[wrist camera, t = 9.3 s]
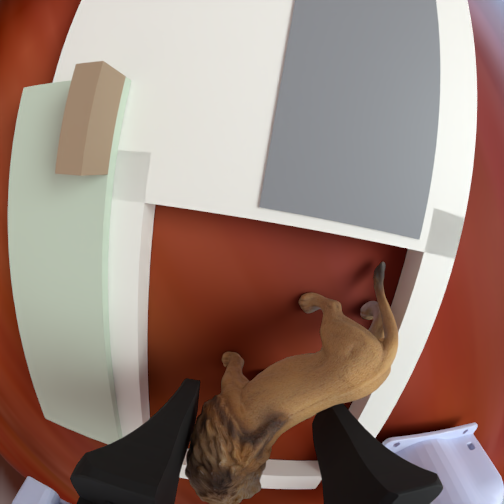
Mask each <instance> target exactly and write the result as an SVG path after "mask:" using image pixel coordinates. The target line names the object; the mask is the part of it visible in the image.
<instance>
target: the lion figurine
mask: <svg viewBox="0 0 504 504" xmlns="http://www.w3.org/2000/svg"><path fill="white" fill-rule="evenodd" d="M384 271H385V263H384V262H381V263H380V264H379V266H377V267H376V269H375V271H374V277H373V278H374V289H375V293H376V298H377V301H378V302H377V301H369V302H367V303H365V304H364V305H363V306H362V307H361V313H360V314H361V317H362V318H363V319H367V320H371V319H373V321H372V324H371V326H370V328H369V329H368V330H367V329H366V328H364V327H363V326H362V325H360V324H358V323H356V322H355V321H353V320H351V319H350V318H348V317H346V316H345V315H344V314H343V313H342V307H341V304H340V302H339V301H336V300H332V299H328V298H326V297H323V296H322V295H320V294H317V293H306V294H303V295H302V296H301V297H300V299H299V305H300V307H301V309H302V310H303V311H304V312H305V313H312V312H314V311H316V310H318V309H320V310H322V311H323V318H322V324H321V327H320V336H321V340H322V348H321V350H320V351H318V352H316V353H310V354H302V355H297V356H291V357H287V358H285V359H283V360H281V361H278V362H276V363H274V364H273V365H271V366H269V367H268V368H266V369H265V370H264V371H262V372H261V373H259V374H258V375H257V376H256V377H255V378H254V379H252V380H251V381H249V380H248V379H247V378H246V377H245V376H244V375H243V373H242V368H243V365H244V360H243V359H242V358H241V356H240V355H239V354H238V353H235V352H225V353H224V354H223V356H222V362H223V365H224V366H225V367H227V369H226V371H225V373H224V375H223V377H222V381H221V393H220V394H219V395H215V396H214V397H213V398H212V399H210V400H208V401H207V402H205V403H204V405H203V407H202V413H201V414H200V415H199V416H198V417H197V420H196V424H195V425H194V430H193V433H192V434H191V438H190V448H189V450H188V451H187V455H186V461H187V466H186V468H185V475H186V477H187V478H188V479H189V482H190V484H191V486H192V487H193V488H194V489H195V492H196V494H197V495H198V496H199V497H200V499H201V500H202V501H206V502H208V503H210V504H237V503H240V502H241V501H242V500H243V499H249V498H251V497H252V496H253V495H254V494H256V493H257V492H259V491H260V490H261V484H260V479H261V476H262V473H263V471H264V469H265V468H266V461H267V460H268V459H269V457H270V453H271V447H272V445H273V444H274V443H275V442H276V440H277V438H278V437H279V436H280V435H281V434H282V433H284V432H285V431H287V430H288V429H290V428H291V427H293V426H295V425H296V424H298V423H300V422H302V421H303V420H306V419H308V418H310V417H312V416H314V415H315V414H317V413H318V412H320V411H322V410H325V409H327V408H329V407H331V406H334V405H337V404H342V403H346V402H351V401H355V400H358V399H361V398H363V397H366V396H367V395H369V394H371V393H373V392H374V391H375V390H377V389H378V388H379V387H380V386H381V385H382V384H383V382H384V381H385V380H386V379H387V377H388V376H389V374H390V372H391V365H392V363H393V361H394V359H395V357H396V354H397V349H398V329H397V325H396V322H395V319H394V316H393V313H392V311H391V308H390V306H389V304H388V302H387V299H386V296H385V293H384V286H383V280H384ZM384 336H385V337H384Z"/></svg>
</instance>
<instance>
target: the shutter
mask: <svg viewBox="0 0 504 504" xmlns="http://www.w3.org/2000/svg"><path fill="white" fill-rule="evenodd" d="M130 85H131V80H130V79H129V78H127V77H126V76H124V75H123V74H122V73H120V72H119V71H117V70H116V69H114V68H113V67H112V66H110V65H109V64H107V63H106V62H104V61H97V62H88V63H80V64H76V66H75V69H74V73H73V76H72V80H71V81H62V82H55V83H48V84H42V85H36V86H30V87H25V88H24V89H23V93H22V97H21V102H20V106H19V111H18V116H17V121H16V127H15V133H14V139H13V147H12V155H11V164H10V175H9V190H8V246H9V262H10V273H11V282H12V290H13V298H14V304H15V310H16V316H17V322H18V327H19V332H20V336H21V341H22V345H23V349H24V353H25V357H26V361H27V365H28V368H29V372H30V375H31V379H32V382H33V385H34V388H35V391H36V394H37V397H38V400H39V403H40V406H41V409H42V411H43V414H44V417H45V418H46V419H48V420H50V421H52V422H54V423H56V424H59V425H61V426H63V427H65V428H68V429H70V430H72V431H75V432H77V433H80V434H82V435H85V436H87V437H90V438H92V439H95V440H98V441H100V442H103V443H106V444H111V443H113V442H115V441H117V440H119V439H121V438H123V436H122V430H121V425H120V419H119V413H118V407H117V400H116V393H115V386H114V378H113V369H112V358H111V347H110V332H109V312H108V249H109V228H110V214H111V202H112V191H113V182H114V174H115V166H116V159H117V152H118V145H119V139H120V133H121V128H122V122H123V117H124V112H125V107H126V102H127V98H128V93H129V89H130Z"/></svg>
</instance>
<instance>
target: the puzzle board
mask: <svg viewBox="0 0 504 504" xmlns="http://www.w3.org/2000/svg"><path fill="white" fill-rule="evenodd" d="M97 61H104V62H106V63H107V64H109V65H110V66H112V67H113V68H114V69H116V70H117V71H119V72H120V73H122V74H123V75H124V76H126V77H127V78H129V79H130V80H131V85H130V89H129V93H128V98H127V102H126V107H125V112H124V117H123V122H122V128H121V133H120V139H119V145H118V152H117V159H116V166H115V174H114V182H113V191H112V202H111V214H110V228H109V249H108V312H109V332H110V347H111V358H112V369H113V378H114V386H115V393H116V400H117V407H118V413H119V419H120V425H121V430H122V436H123V437H124V436H126V435H128V434H129V433H131V432H132V431H134V430H135V429H137V428H138V427H140V426H141V425H142V424H144V423H145V422H146V421H148V420H149V419H150V411H149V392H148V356H147V329H148V292H149V273H150V258H151V245H152V233H153V223H154V213H155V204H157V205H164V206H171V207H178V208H185V209H191V210H198V211H205V212H211V213H217V214H224V215H230V216H236V217H242V218H248V219H254V220H260V221H266V222H272V223H278V224H284V225H289V226H295V227H300V228H306V229H311V230H317V231H322V232H327V233H333V234H338V235H343V236H348V237H353V238H359V239H364V240H369V241H374V242H378V243H383V244H388V245H393V246H398V247H403V248H407V249H408V250H407V254H406V258H405V262H404V265H403V269H402V272H401V276H400V279H399V283H398V286H397V289H396V292H395V295H394V299H393V302H392V305H391V311H392V313H393V316H394V319H395V322H396V325H397V329H398V349H397V354H396V357H395V359H394V361H393V363H392V365H391V372H390V374H389V376H388V377H387V379H386V380H385V381H384V382H383V384H382V385H381V386H380V387H379V388H378V389H377V390H375V391H374V392H373V393H371V394H369V395H367V396H366V397H363V398H361V399H358V400H355V401H353V402H352V404H351V406H350V408H349V411H350V412H351V413H352V415H353V416H354V417H355V418H356V419H357V420H358V421H359V423H360V424H361V425H362V426H363V427H364V428H365V429H366V430H367V431H368V432H369V433H370V434H371V435H372V436H373V437H374V438H376V436H377V435H378V433H379V432H380V430H381V428H382V427H383V425H384V423H385V422H386V420H387V418H388V417H389V415H390V413H391V411H392V410H393V408H394V406H395V404H396V402H397V401H398V399H399V397H400V395H401V393H402V391H403V389H404V388H405V386H406V384H407V382H408V380H409V378H410V376H411V374H412V372H413V369H414V367H415V365H416V363H417V361H418V359H419V357H420V354H421V352H422V350H423V348H424V345H425V343H426V341H427V338H428V336H429V333H430V331H431V328H432V326H433V323H434V321H435V318H436V315H437V313H438V310H439V307H440V304H441V302H442V299H443V296H444V293H445V290H446V287H447V283H448V280H449V277H450V274H451V270H452V267H453V263H454V260H455V256H456V252H457V249H458V245H459V241H460V236H461V232H462V228H463V223H464V218H465V213H466V208H467V203H468V197H469V191H470V185H471V178H472V170H473V162H474V152H475V140H476V123H477V76H476V59H475V48H474V39H473V31H472V24H471V17H470V12H469V6H468V1H467V0H81V3H80V5H79V7H78V9H77V12H76V14H75V17H74V19H73V22H72V24H71V27H70V29H69V32H68V35H67V37H66V40H65V43H64V46H63V49H62V52H61V55H60V58H59V62H58V65H57V68H56V72H55V76H54V79H53V83H55V82H62V81H71V80H72V76H73V73H74V69H75V66H76V64H80V63H88V62H97ZM384 337H385V336H384ZM188 450H189V449H187V451H188ZM186 455H187V452H186ZM186 455H185V458H184V461H183V464H182V468H181V471H180V476H179V477H180V478H185V479H188V478H187V477H186V475H185V468H186V466H187V461H186ZM321 480H322V478H321V473H320V469H319V464H318V461H294V460H271V459H268V460H267V461H266V468H265V469H264V471H263V473H262V476H261V479H260V484H261V488H267V489H316V487H317V486H318V484H319V483H320V481H321Z"/></svg>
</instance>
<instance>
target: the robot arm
mask: <svg viewBox="0 0 504 504" xmlns="http://www.w3.org/2000/svg"><path fill="white" fill-rule="evenodd" d="M199 389H200V381H198V380H193V379H188V378H187V379H185V380H184V381H183V383H182V384H181V386H180V387H179V388H178V390H177V391H176V392H175V394H174V395H173V396H172V397H171V398H170V399H169V400H168V402H167V403H166V404H165V405H164V406H163V407H162V408H161V409H160V410H159V411H158V412H157V413H156V414H155V415H153V416H152V417H151V418H150V419H149V420H148V421H146V422H145V423H144V424H142V425H141V426H140V427H138V428H137V429H135V430H134V431H132V432H131V433H129V434H128V435H126V436H124V437H123V438H121V439H119V440H117V441H115V442H113V443H111V444H109V445H106V446H104V447H102V448H99V449H96V450H93V451H90V452H87V453H85V455H84V456H83V457H82V458H81V460H80V461H79V462H78V464H77V465H76V467H75V469H74V471H73V473H72V475H71V478H70V480H71V482H72V484H73V486H74V488H75V489H76V491H77V493H78V494H79V496H80V497H79V500H78V502H77V504H174V502H175V497H176V491H177V486H178V481H179V476H180V471H181V468H182V464H183V461H184V458H185V455H186V452H187V449H188V446H189V443H190V438H191V434H192V433H193V430H194V425H195V421H196V416H197V410H198V399H199ZM477 426H478V425H477V424H476V423H470V424H466V425H462V426H458V427H453V428H449V429H444V430H438V431H433V432H427V433H421V434H414V435H407V436H399V437H391V438H388V439H386V440H385V441H384V442H383V443H380V442H379V441H378V440H377V439H376V438H374V437H373V436H372V435H371V434H370V433H369V432H368V431H367V430H366V429H365V428H364V427H363V426H362V425H361V424H360V423H359V421H358V420H357V419H356V418H355V417H354V416H353V415H352V413H351V412H350V411H349V410H348V409H347V408H346V406H345V405H344V404H343V403H342V404H337V405H334V406H331V407H329V408H327V409H325V410H322V411H320V412H318V413H317V414H316V416H315V418H314V421H313V423H312V428H313V441H314V446H315V451H316V455H317V460H318V464H319V469H320V473H321V478H322V484H323V496H324V504H501V503H502V500H503V496H504V486H503V481H502V478H501V476H500V474H499V473H498V471H497V469H496V468H495V466H494V465H493V463H492V462H491V460H490V459H489V457H488V456H487V454H486V452H485V451H484V449H483V448H482V447H481V445H480V444H479V442H478V441H477V439H476V438H475V436H474V435H473V433H474V431H475V430H476V428H477ZM12 504H70V503H68V502H66V501H64V500H62V499H60V497H59V495H58V494H57V493H56V492H55V491H54V490H53V489H51V488H50V487H48V486H46V485H44V484H42V483H41V482H39V481H37V480H35V479H33V478H32V477H30V476H27V478H26V480H25V482H24V483H23V485H22V486H21V488H20V490H19V492H18V493H17V495H16V497H15V498H14V500H13V502H12Z"/></svg>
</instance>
